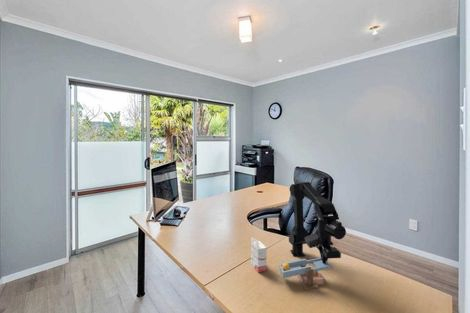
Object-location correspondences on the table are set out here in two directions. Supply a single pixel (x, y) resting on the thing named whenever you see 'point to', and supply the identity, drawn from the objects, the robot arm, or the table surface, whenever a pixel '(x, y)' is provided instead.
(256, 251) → the ink cartridge box
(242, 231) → the table surface
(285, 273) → the lever
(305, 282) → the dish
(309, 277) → the stand
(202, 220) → the table surface
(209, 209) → the table surface
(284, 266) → the ball
